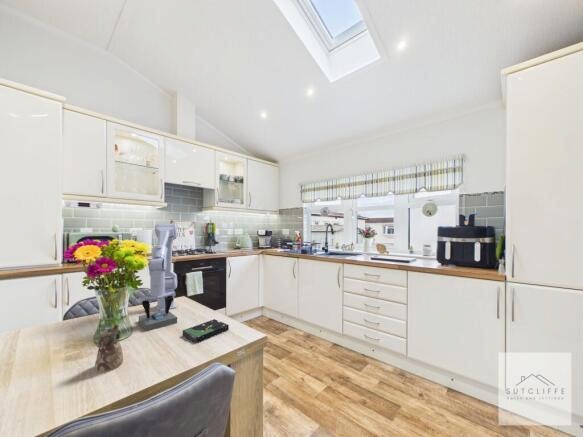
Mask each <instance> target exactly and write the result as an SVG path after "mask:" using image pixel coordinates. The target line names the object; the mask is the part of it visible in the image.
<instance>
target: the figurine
mask: <svg viewBox="0 0 583 437" xmlns="http://www.w3.org/2000/svg"><path fill="white" fill-rule="evenodd" d="M118 328H119V325H118V324H114V326H113V327H110V326H108V327H105V329H103V331H101V332H100V334H99V335H100V336H99V341H98V343H97V344H96V347H97V348H98V350H97V356H96V359H95V363H94V372H96V373H98V374H99V373H108V372H111V371H114V370H115V369H117V368H119V367H120V366H121V365H122V364H123V362H124V354H123V348H122V345H121V343H120V337H121V336H120V335H121V334H120V332H119V331H118V330H117V329H118Z"/></svg>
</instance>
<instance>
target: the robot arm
mask: <svg viewBox="0 0 583 437" xmlns="http://www.w3.org/2000/svg"><path fill="white" fill-rule="evenodd" d="M154 233H155V235H156V237H157V245H156V246H154V249H153V253H152V256H151V259H149V261H148V273H149V277H150V278H149V279H150V280H149V281H150V282H149V283H150V289H149V290H150V292H149V294H148V295H144V296H141V297H138V303H139V304H141V305H142V307H143V309H144V312H145V314H146V316H147V318H150V310H151V309H150V308H151V307H150V306H151V303H150V302H151V301H155V300H157V303H156V304H157V305H155V308H156V309H158V310H159V311H162V310H165V313H166V314H168V313H169V311H170V310H171V309H175V308H177V307H178V306H177V305H175V297H176V291H175V290H176V289H177V287H178V275H177V273H175V272H173V271H172V266H173V265H172V260H173V256H172V255H173V242H174V240H176V239H177V238H178V224H176V222H175V223H158V222H157V223H156V224H155V226H154Z"/></svg>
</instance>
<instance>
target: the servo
mask: <svg viewBox="0 0 583 437" xmlns="http://www.w3.org/2000/svg"><path fill="white" fill-rule="evenodd" d="M152 313H153V314H152V316H153V319H154V320H160V319H164V317H163V314H162V313H161V312H158V311H155V313H154V312H152Z"/></svg>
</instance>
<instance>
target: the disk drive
mask: <svg viewBox="0 0 583 437" xmlns="http://www.w3.org/2000/svg"><path fill="white" fill-rule="evenodd" d="M229 328H230V327H229V324H227V323H224V322H222V321H219V320H217V319H215V318H214V319H211V320H209V321H205V322H203V323H200V324H197V325H195V326H191V327H188V328H186V329H183V330H182V337H184V338H185V339H186V340H189V341H191V342H192V343H195V344H198V343H199V344H200V343H201V342H204V341H205V340H208V339H210V338H212V337H216V336H218V335H221V334H222V332H223V333H225V332H228V331H229V330H230V329H229ZM227 330H228V331H227ZM215 335H216V336H215Z"/></svg>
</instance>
